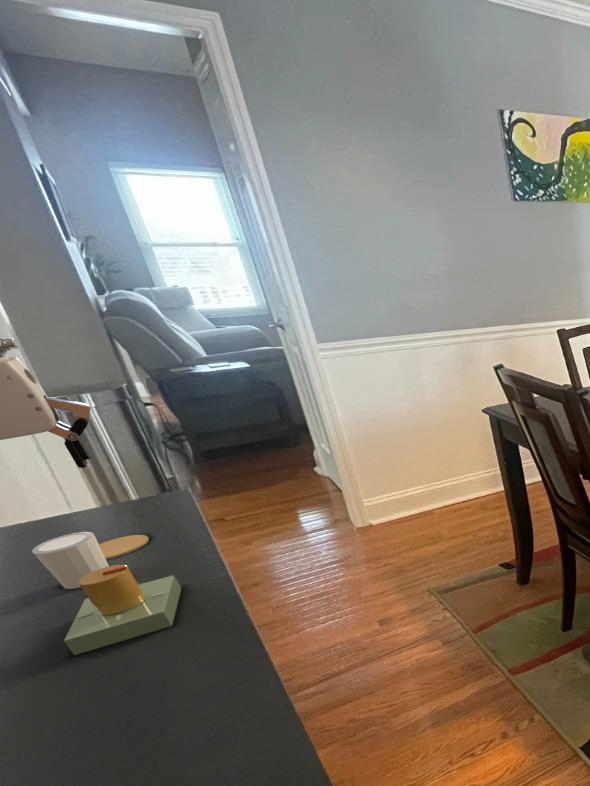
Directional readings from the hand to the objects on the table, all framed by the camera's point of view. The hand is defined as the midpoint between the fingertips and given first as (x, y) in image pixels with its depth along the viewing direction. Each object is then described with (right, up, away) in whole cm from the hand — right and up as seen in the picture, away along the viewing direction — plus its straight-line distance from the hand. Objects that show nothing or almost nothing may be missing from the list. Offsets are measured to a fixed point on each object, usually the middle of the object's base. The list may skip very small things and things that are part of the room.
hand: (36, 475), depth 85 cm
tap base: (+13, -21, +1) cm, 24 cm away
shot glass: (-6, -16, +12) cm, 21 cm away
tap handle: (+13, -19, 0) cm, 22 cm away
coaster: (-10, -12, +21) cm, 26 cm away
